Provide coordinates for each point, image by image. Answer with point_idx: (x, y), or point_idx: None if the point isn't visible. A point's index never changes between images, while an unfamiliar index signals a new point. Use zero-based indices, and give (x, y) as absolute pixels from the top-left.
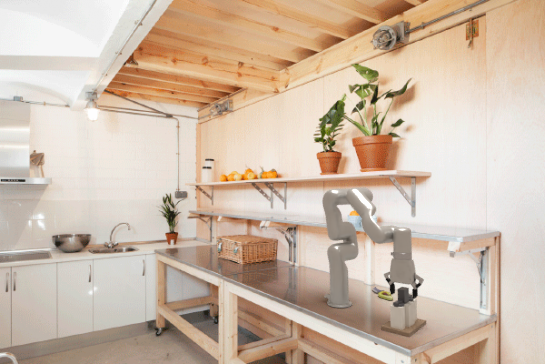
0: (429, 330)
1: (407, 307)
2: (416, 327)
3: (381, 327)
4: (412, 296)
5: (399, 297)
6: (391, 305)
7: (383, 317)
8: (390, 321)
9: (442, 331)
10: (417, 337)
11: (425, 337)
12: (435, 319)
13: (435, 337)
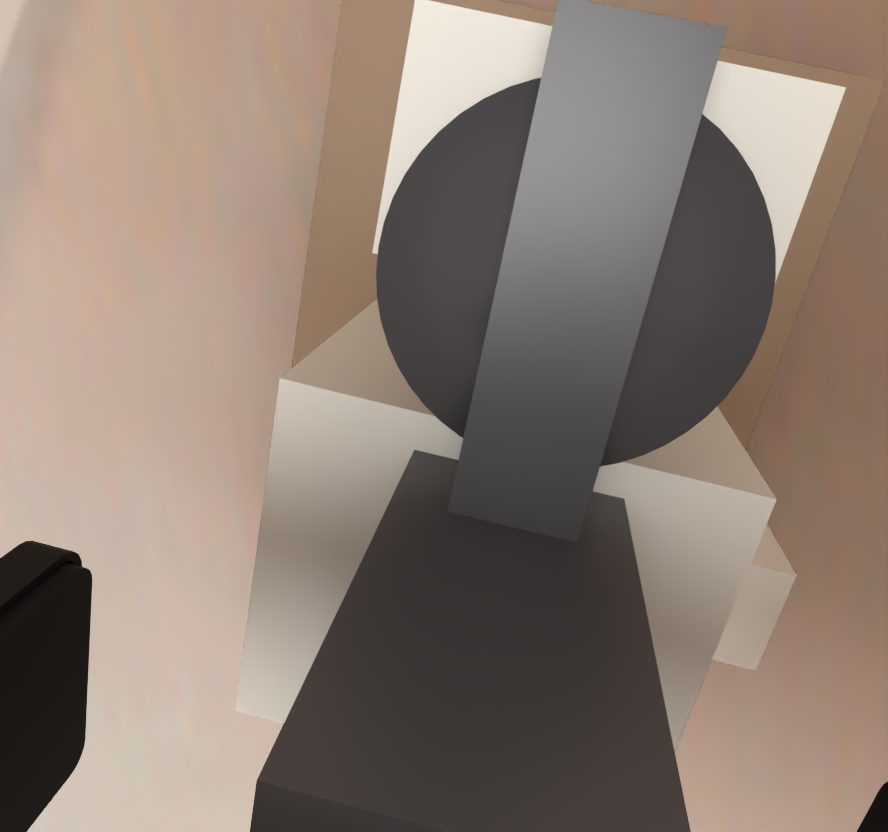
0: (180, 411)
1: (339, 368)
2: (303, 315)
3: (871, 82)
4: (48, 595)
5: (570, 578)
6: (799, 139)
7: (865, 661)
8: (736, 409)
9: (41, 444)
10: (253, 42)
11: (157, 106)
12: (213, 797)
13: (48, 179)
